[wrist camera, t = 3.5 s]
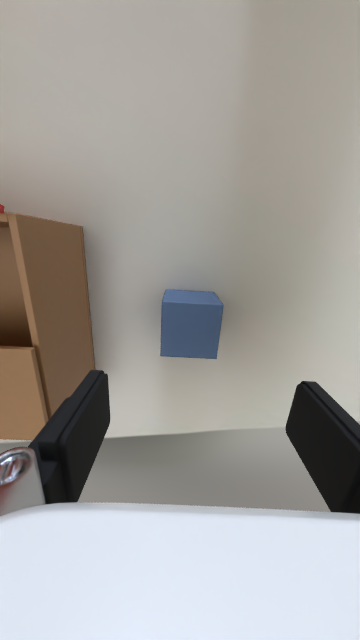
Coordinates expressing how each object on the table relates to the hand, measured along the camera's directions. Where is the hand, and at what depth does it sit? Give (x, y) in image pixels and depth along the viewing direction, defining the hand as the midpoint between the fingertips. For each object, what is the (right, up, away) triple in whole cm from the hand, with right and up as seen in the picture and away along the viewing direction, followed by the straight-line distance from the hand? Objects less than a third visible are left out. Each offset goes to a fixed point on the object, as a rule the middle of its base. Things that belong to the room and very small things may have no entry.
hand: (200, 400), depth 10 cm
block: (0, +5, +12) cm, 13 cm away
